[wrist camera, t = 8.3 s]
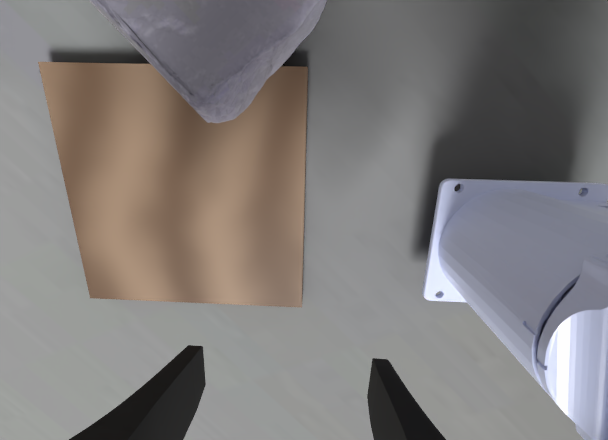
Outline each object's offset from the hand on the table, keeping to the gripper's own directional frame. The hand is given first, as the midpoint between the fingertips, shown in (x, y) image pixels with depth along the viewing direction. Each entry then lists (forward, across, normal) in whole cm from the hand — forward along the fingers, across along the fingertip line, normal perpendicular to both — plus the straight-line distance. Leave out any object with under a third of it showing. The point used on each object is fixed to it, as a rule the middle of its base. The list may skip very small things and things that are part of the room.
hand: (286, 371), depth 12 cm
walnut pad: (+10, +8, -5) cm, 13 cm away
